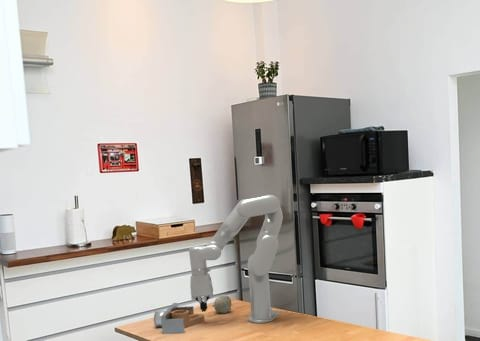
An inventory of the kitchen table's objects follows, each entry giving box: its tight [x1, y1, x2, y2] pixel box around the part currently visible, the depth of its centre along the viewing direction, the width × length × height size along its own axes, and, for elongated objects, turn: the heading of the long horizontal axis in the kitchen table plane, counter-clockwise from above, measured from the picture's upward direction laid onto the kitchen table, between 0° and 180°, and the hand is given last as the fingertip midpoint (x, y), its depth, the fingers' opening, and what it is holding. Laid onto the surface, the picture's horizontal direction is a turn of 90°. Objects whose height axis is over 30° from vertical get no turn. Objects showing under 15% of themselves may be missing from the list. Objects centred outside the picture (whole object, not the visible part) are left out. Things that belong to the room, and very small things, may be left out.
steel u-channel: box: [153, 302, 195, 335], centre depth 228 cm, size 16×24×8 cm, turn 175°
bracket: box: [171, 310, 205, 329], centre depth 231 cm, size 18×8×7 cm, turn 139°
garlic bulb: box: [212, 294, 232, 314], centre depth 247 cm, size 9×8×10 cm
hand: (204, 310), depth 227 cm, fingers closed
